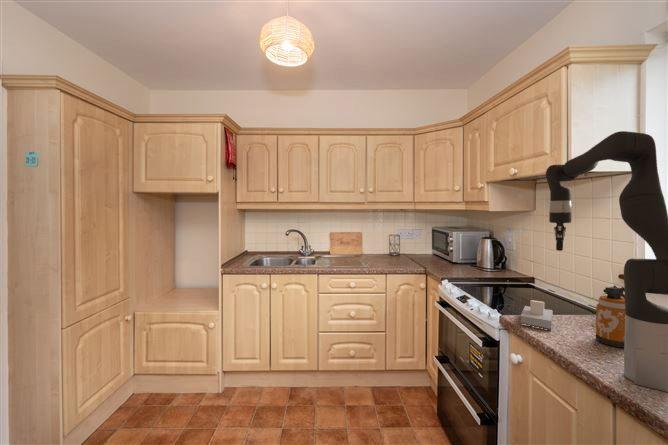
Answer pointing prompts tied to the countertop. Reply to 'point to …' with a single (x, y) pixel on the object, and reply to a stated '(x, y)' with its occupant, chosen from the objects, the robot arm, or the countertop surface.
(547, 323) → the grey rectangular block
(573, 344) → the countertop surface
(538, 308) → the cream rectangular block
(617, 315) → the canister
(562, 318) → the countertop surface
